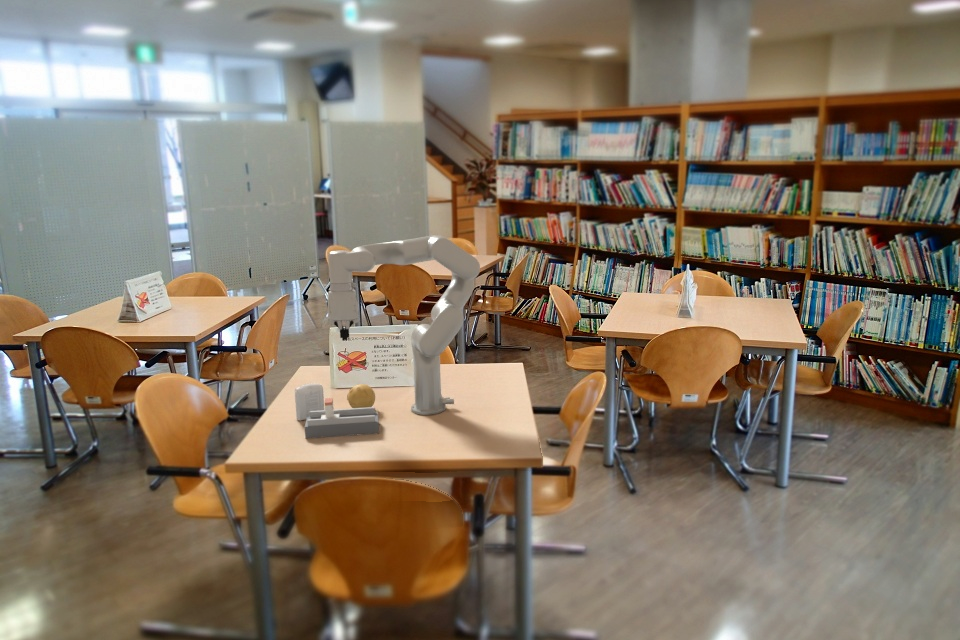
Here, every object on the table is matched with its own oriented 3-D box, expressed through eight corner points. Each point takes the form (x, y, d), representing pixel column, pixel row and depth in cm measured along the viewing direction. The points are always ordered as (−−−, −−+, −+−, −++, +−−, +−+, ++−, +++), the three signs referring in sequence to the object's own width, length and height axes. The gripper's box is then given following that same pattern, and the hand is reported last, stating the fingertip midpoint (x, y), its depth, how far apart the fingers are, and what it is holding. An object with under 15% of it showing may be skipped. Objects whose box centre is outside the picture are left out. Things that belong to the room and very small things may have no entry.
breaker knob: (339, 415, 247) (338, 396, 246) (338, 422, 242) (337, 402, 240) (321, 416, 247) (320, 397, 245) (320, 423, 241) (318, 403, 239)
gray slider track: (378, 422, 252) (377, 406, 251) (378, 433, 242) (377, 416, 241) (308, 427, 249) (307, 410, 247) (305, 438, 239) (304, 421, 238)
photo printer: (322, 412, 263) (319, 379, 260) (326, 415, 260) (324, 382, 257) (294, 418, 258) (292, 385, 255) (299, 422, 254) (296, 388, 251)
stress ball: (365, 407, 270) (343, 392, 267) (381, 389, 267) (359, 374, 264) (363, 421, 261) (340, 406, 258) (379, 402, 258) (356, 387, 255)
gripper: (364, 284, 249) (367, 336, 253) (319, 286, 247) (323, 338, 251) (363, 288, 242) (366, 341, 246) (318, 290, 240) (322, 343, 244)
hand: (345, 339), depth 249 cm, fingers closed
